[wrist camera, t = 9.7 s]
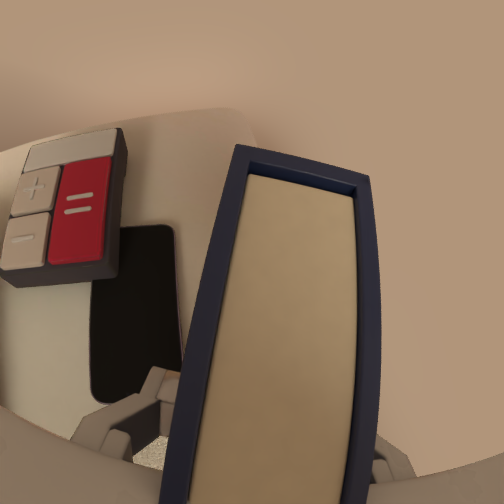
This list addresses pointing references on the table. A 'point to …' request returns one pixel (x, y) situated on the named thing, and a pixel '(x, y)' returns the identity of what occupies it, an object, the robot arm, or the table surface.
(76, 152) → the calculator
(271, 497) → the hardcover book
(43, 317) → the table surface
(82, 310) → the table surface
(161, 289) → the smartphone
